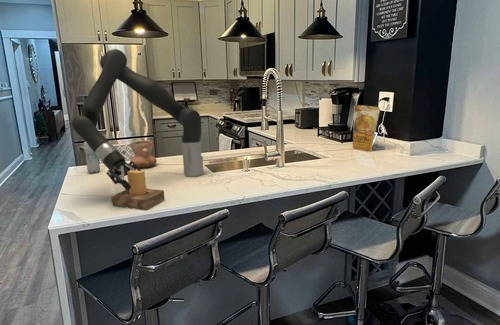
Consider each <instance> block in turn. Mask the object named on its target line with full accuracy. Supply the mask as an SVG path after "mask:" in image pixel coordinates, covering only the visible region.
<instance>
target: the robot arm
mask: <svg viewBox="0 0 500 325" xmlns="http://www.w3.org/2000/svg"><path fill="white" fill-rule="evenodd" d="M127 59H128V58H127V56H126V54H125V53H124V52H123V51H122V50H120V49H117V48H112V49H110V50H108V51H107V52H105V53H104V55H102V56H101V58H100V61H99V64H100V67H101V68H102V70H101V72H100V74H99V76H98V78H97V80H96V81H95V83H94V85H93V86H92V87H91V89H90V91H88V94H87V96H86V98H85V100H84V102H83V105H82V107H81V108H82V114H81V115H77V116H74V118H72V119H71V120H72V121H71V127H72V129H73V130H74V132H75V133H76V134H77V135H79V137H81V139H83V140H84V142H86V143H87V144H88V145H89V147H90V148H91V149H92V150H93V151H94V152H95V154H96V155H97V156H98V160H99V161H101V162H102V163H103V165H104V166H105V167H106V168H107V169H108V170H107V171H106V175H107V176H108V178H110V180H111V182H113V184H115V185H117V184H119V185H121V186H122V187H123V188H124V190H129V189H130V188H131V186H130V184H129V183H128V180H126V179H125V177H126V176H127V172H129V171H131V170H136V171H142V168H139V167H138V166H137V165H136V164H135V163H134V162H133V161H131V162H130V161H129V162H126V159H125V156H124V155H123V154H122V153H121V152H120V151H119V150H118V148H116V147H115V145H113V144H112V143H111V142H110V141H109V140H108V138H107V137H105V135H103V133H101V132H100V131H99V130H98V128H97V125H98V122H99V116H100V114H101V112H102V110H103V108H104V106H105V103H106V101H107V99H108V96H109V94H110V92H111V90H112V88H113V86H114V85H115V82H116V80H118V81H120V82H122V83H123V84H125V85H126V86H128V87H129V88H130V89H132V90H133V91H134V92H135V93H137V94H138V95H139V96H141V97H142V98H144V99H145V100H146V101H148V102H149V103H151V104H152V105H153V106H155V107H156V108H158V109H160V110H162V111H164V112H165V113H167V114H169V115H170V116H171V117H172V118H173V119H174V120H175V121H176V122H178V124H180V125H181V126H182V127H183V131H182V132H183V134H182V136H181V149H182V162H183V175H184V176H185V177H191V178H194V177H195V178H196V177H199V176H203V175H204V173H205V172H204V159H203V158H204V156H203V155H202V147H201V145H202V144H201V137H202V119H201V118H202V116H201V114H200V113H199V111H197V110H195V109H193V108H192V109H191V108H189V107H186V106H184V105H183V104H182V103H180V102H178V101H177V100H176V99H175V98H174V97H173V96H172V95H171V94H170V92H169V91H168V90H167V89H166V88H165V87H164V86H162V85H161V84H160V83H158V82H157V81H156V80H154V79H152V78H150V77H147V76H145V75H142V74H140V73H137V72H136V71H134V70H132V69H131V68H130V67H128V66H127V65H128V64H127V63H128V60H127Z"/></svg>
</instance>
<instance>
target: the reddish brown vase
mask: <svg viewBox="0 0 500 325" xmlns="http://www.w3.org/2000/svg"><path fill="white" fill-rule="evenodd" d="M129 144H130V147H131V150H132V152H133V154H134V156H133V157H132V158H131V159H130V161H129V163H130V162H131V161H133V162H134V163H135V164H136V165H137V166H138V167H139V168H140V169H146V168H151V167H153V166H155V164H157V158H156V157H155V155H152V154H151V152H152V150H153V144H154V142H153V141H152V140H144V139H143V140H135V141H131V142H130V143H129Z"/></svg>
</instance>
